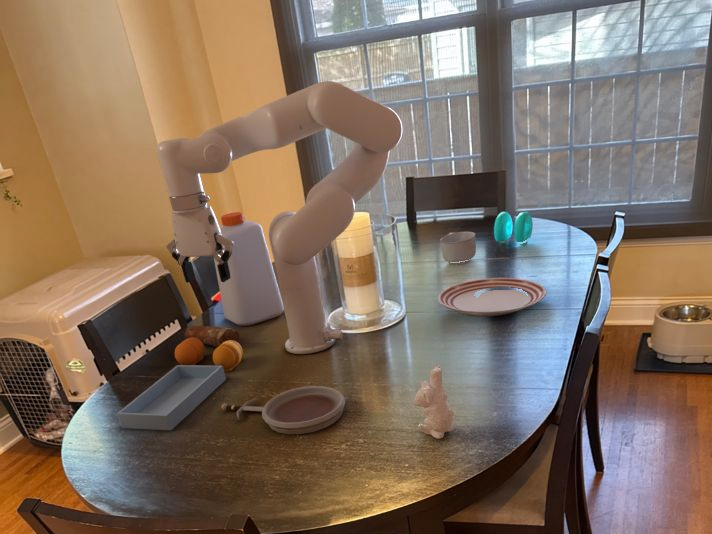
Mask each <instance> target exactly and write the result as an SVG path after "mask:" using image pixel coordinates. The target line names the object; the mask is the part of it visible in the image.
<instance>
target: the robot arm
mask: <svg viewBox="0 0 712 534" xmlns="http://www.w3.org/2000/svg"><path fill="white" fill-rule="evenodd" d="M327 129H328V130H330V131H332V132H334V133H335V134H337V135H339V136H342V137H343V138H346V139H348V140H350V141H351V142H353V143H354V144H353V147H352V149H351V151H350V153H349V154H348V155H347V156H346V157H345V159H344V160H343V161H341V163H340V164H339V165H337V166H336V167H335V168H334V169H333V170H332V171H330V172H329V173H328V174H327V175H326V176H325V177H324V178H322V179H320V181H319V182H317V183H316V184H314V185H313V186H312V187H311V188H310V190H309V191H308V193H307V196H306V199H305V204H303V206H302V207H301V208H299V210H297V211H296V212H295V211H290V210H287V211H282V212H280V213H277V214H276V215H275V216H274V217H273V218H272V220H271V222H270V224H269V227H268V240H269V241H268V242H269V245H270V249H271V253H272V258H273V262H274V266H275V271H276V275H277V282H278V288H279V291H280V295H281V299H282V302H283V307H284V311H283V313H284V316H285V321H286V326H287V331H288V337H289V338H288V339H287V340H286V341H285V343H284V347H285V350H286V351H287V352H288V353H291V354H295V355H308V354H314V353H320V352H321V351H325V350H326V349H328V348H330V347H332V346H333V345H334V344H335V343H336V340H343V337H344V333H343V331H342V329H341V328H332V327H331V323H330V322H327V320H326V314H325V310H324V302H323V296H322V292H321V286H320V278H319V271H318V267H317V262H316V257H315V256H317V255H318V254H319V253H320V252H322V251H323V250H324V249H325V248H326V247H328V246H329V245H330V244H331V243H332V242H333V241H335V240H336V239H337V238H338V237H339V236H340V235H342V233H344V231H346V229H347V228H348V227H349V226H350V225H351V223H352V221H353V219H354V216H355V211H356V207H355V206H356V204H357V203H358V202H360V201H361V200H362V199H363V198H364V197H365V196H366V195H367V194H368V193H369V192H370V191H371V190H372V189H374V187H375V186H376V185H377V184H378V182H379V181H380V180H381V179H382V177H383V175H384V173H385V170H386V169H387V165H388V162H389V158H390V152H391V151H392V150H394V149H395V148H396V147H397V146H398V144H399V143H400V141H401V139H402V137H403V136H402V135H403V124H402V121H401V119H400V117H399V115H398V113H396V111H394V110H393V109H392V108H390V107H388V106H386V105H383V104H382V103H379V102H378V101H375V100H373V99H372V98H369V97H367V96H365V95H363V94H361V93H360V92H357V91H356V90H353V89H352V88H349V87H348V86H346V85H344V84H342V83H341V82H338V81H335V80H334V81H333V80H323V81H319V82H316V83H314V84H312V85H310V86H309V85H308V86H307V87H305V88H303V89H300V90H297V91H295V92H293V93H290V94H288V95H286V96H283V97H281V98H279V99H276V100H274V101H272V102H269V103H267V104H264V105H262V106H259V107H257V108H255V109H254V110H251V111H250V112H248V113H246V114H243V115H241V116H238V117H236V118H234V119H231V120H228V121H226V122H224V123H220V124H219V125H216V126H214V127H211V128H209V129H207V130H205V131H204V132H201V134H199V136H198V137H194V138H189V139H188V138H186V137H177V138H171V139H166V140H163V141H160V142H159V143H158V144H157V146H156V153H157V158H158V161H159V165H160V169H161V172H162V176H163V179H164V183H165V184H164V185H165V187H166V192H167V194H168V199H169V202H170V206H171V210H172V211H170V216H171V226H172V232H173V236H174V238H173V239H172V240H171V241H170V242H168V243H167V244H166V249H167V250H168V252H169V253H170V255H171V257H172V258H173V259H174V260H175V261H176V262H177V265H179V266H180V267H181V270H182V274H183V278H184V280H185V283H186V284H189V283H190V282H193V281H194V280H195V279H196V275H195V270H194V266H193V264H192V261H190V259H191V258H198V257H199V258H200V257H203V258H205V257H212V258H213V259H214V258H215V260H216V261H217V262H218V263H219V264H218V265H217V267H218V271H219V275H220V280H221V282H225V281H227V280H228V279H230V270H229V266H228V262H227V261H229V258H230V256H231V254H232V249H233V242H232V241H231V240H229V239H227V238H225V237H223V236H222V235H221V231H220V228H219V226H220V225H219V221H218V220H217V217H216V214H215V212H214V210H213V208H212V206H211V205H208V203H209V202H210V200H211V199H210V196H209V195H208V194H205V191H204V187H203V181H202V178H201V174H219V173H222V172H224V171H225V170H227V169H229V166H230V165H231V163H232V162H233V161H236V160H239V159H241V158H243V157H246V156H248V155H251V154H254V153H257V152H261V151H267V150H276V149H280V148H283V147H286V146H289V145H291V144H294V143H295V142H298V141H301V140H302V139H305V138H307V137H310V136H312V135H315V134H317V133H319V132H322V131H325V130H327ZM224 246H225V252H224V251H223V249H224Z"/></svg>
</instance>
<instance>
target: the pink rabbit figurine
mask: <svg viewBox="0 0 712 534" xmlns="http://www.w3.org/2000/svg"><path fill="white" fill-rule="evenodd" d="M442 373H443V370H442V368H441V365H435V366H434V368H432V369H430V373H429V382H428V381H426V380H424V381H422V382H421V386H420V388H419V389H418V391H417V392H416V394H415V397H414V400H413V402H412V403H413V405H414V406H416V407H422V413H423V414H424V415H425V416H426V418H424V420H423V423H419V424H418V425H417V427H418V429H419V430H421V431H422V432H423V433H424V434H425V435H427V436H428V435H429V436H432V437H433V438H434V439H438V440H441V439H443V437H444V436H445V433H447V432H452V431H454V427H452V424H453V419H454V416H455V415H454V410H453V408H452V407H451V406H450V404H447V402H446V401H447V400H448V394H447V391H446V390H445V388H444V387H443V374H442Z"/></svg>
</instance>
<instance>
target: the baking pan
mask: <svg viewBox="0 0 712 534" xmlns="http://www.w3.org/2000/svg"><path fill="white" fill-rule="evenodd" d="M225 381H227V378H226V374H225V371H224V370H223V366H216V365H202V364H201V365H200V364H199V365H198V364H195V365H181V364H177V365H175V366H174V367H173V368H172V369H170V370H169V371H168V372H167V373H166V374H164V375H163V376H162V377H160V378H159V379H158V380H157V381H156V382H154V383H153V384H152V385H151V386H149V387H148V388H146V390H144V391H143V392H142V393H140V394H139V395H138V396H136V397H135V398H134V399H133V400H132V401H130V402H129V403H128V404H127V405H125V406H124V407H123V408H122V409H120V410H119V411H118V412H117V413H116V416H117V418H118V421H119V424H120V427H121V429H132V430H150V431H151V430H152V431H153V430H154V431H157V430H158V431H172V430H174V429H175V428H176V427H177V426H178V425H179V424H180V423H181V422H182V421H184V420H185V418H187V417H188V415H190V414H191V413H192V412H193V411H194V410H195V409H196V408H197V407H198V406H199V405H201V404H202V403H203V402H204V401H205V400H206V399H207V398H208V397H209V396H210V395H211V394H212V393H213V392H214V391H215V390H217V388H219V387H220V386H221V385H222V384H223V383H224V382H225Z"/></svg>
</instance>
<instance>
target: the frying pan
mask: <svg viewBox="0 0 712 534" xmlns="http://www.w3.org/2000/svg"><path fill="white" fill-rule="evenodd" d="M258 402H259V400H258V397H254V398H251V399H250V400H247V401H245V402H244V404H243V405H229V404H227V403H225V402H224V403H222V404H221V406H220V409H221V410H222V411H223V412H227V411H228V410H230V411H231V410H232V411H236V417H237V420H238V421H240V414H242V413H243V412H244V411H247V412H248V411H249V412H261V418H262V419H263V420H264V422H265V423H266V424H267V425H268V426H269V428H270V429H271V430H273V431H275V432H276V433H279V434H284V435H302V434H309V433H314V432H317V431H320V430H323V429H325V428H327V427H329V426H331V425H333V424H334V423H335V422H336V421H338V420H339V419H340V418H341V417H342V414H343V412H344V407H345V404H346V400H345V396H344V395H343V394H342V393H341V392H340V391H339V390H337V389H336V388H333V387H330V386H323V385H307V386H301V387H296V388H292V389H289V390H286V391H283V392H281V393H279V394H277V395H275V396H273V397H272V398H271V399H269V400H268V401H266V403H265V404H264V406H251V405H252V404H255V403H258Z"/></svg>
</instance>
